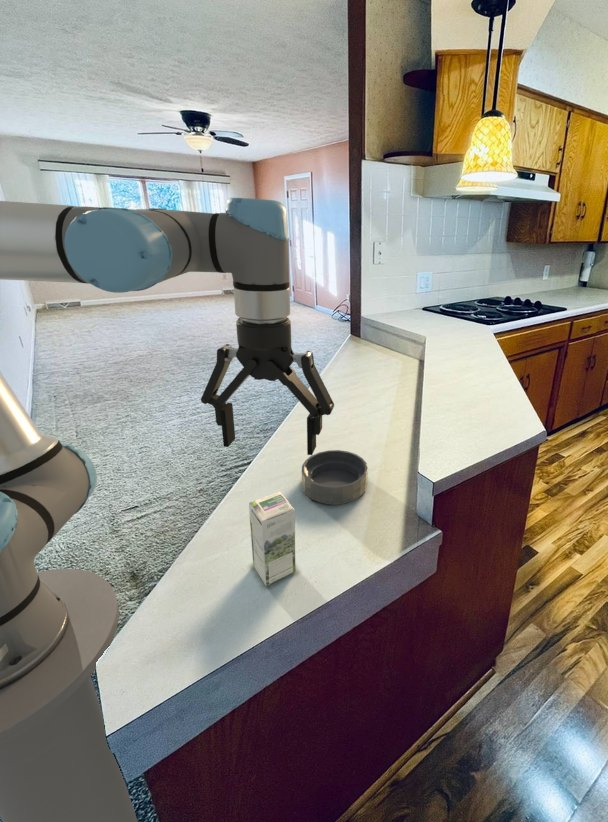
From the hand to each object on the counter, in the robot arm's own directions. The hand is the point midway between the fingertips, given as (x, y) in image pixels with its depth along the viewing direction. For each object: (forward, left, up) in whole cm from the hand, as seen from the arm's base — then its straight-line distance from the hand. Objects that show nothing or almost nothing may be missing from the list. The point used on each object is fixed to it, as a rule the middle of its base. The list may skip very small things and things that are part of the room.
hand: (270, 446), depth 66 cm
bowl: (+12, +22, -24) cm, 35 cm away
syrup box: (0, -2, -24) cm, 24 cm away
